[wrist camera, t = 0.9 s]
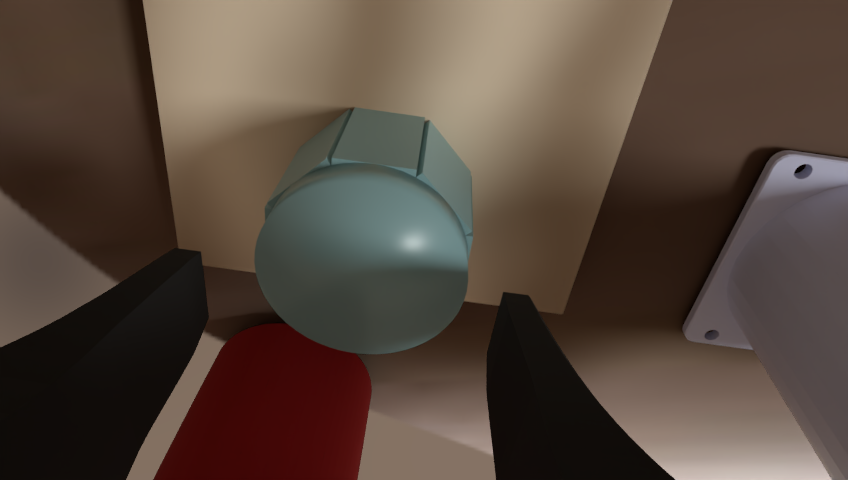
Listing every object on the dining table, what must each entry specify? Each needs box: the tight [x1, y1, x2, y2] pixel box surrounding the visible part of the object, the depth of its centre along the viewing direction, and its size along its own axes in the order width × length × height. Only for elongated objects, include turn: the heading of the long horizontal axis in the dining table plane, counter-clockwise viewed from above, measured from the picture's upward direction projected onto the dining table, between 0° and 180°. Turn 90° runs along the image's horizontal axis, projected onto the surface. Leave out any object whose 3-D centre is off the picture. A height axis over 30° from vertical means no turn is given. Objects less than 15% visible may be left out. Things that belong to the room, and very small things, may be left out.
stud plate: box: [143, 0, 673, 315], centre depth 15 cm, size 14×18×4 cm
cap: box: [254, 107, 473, 354], centre depth 16 cm, size 6×6×4 cm
